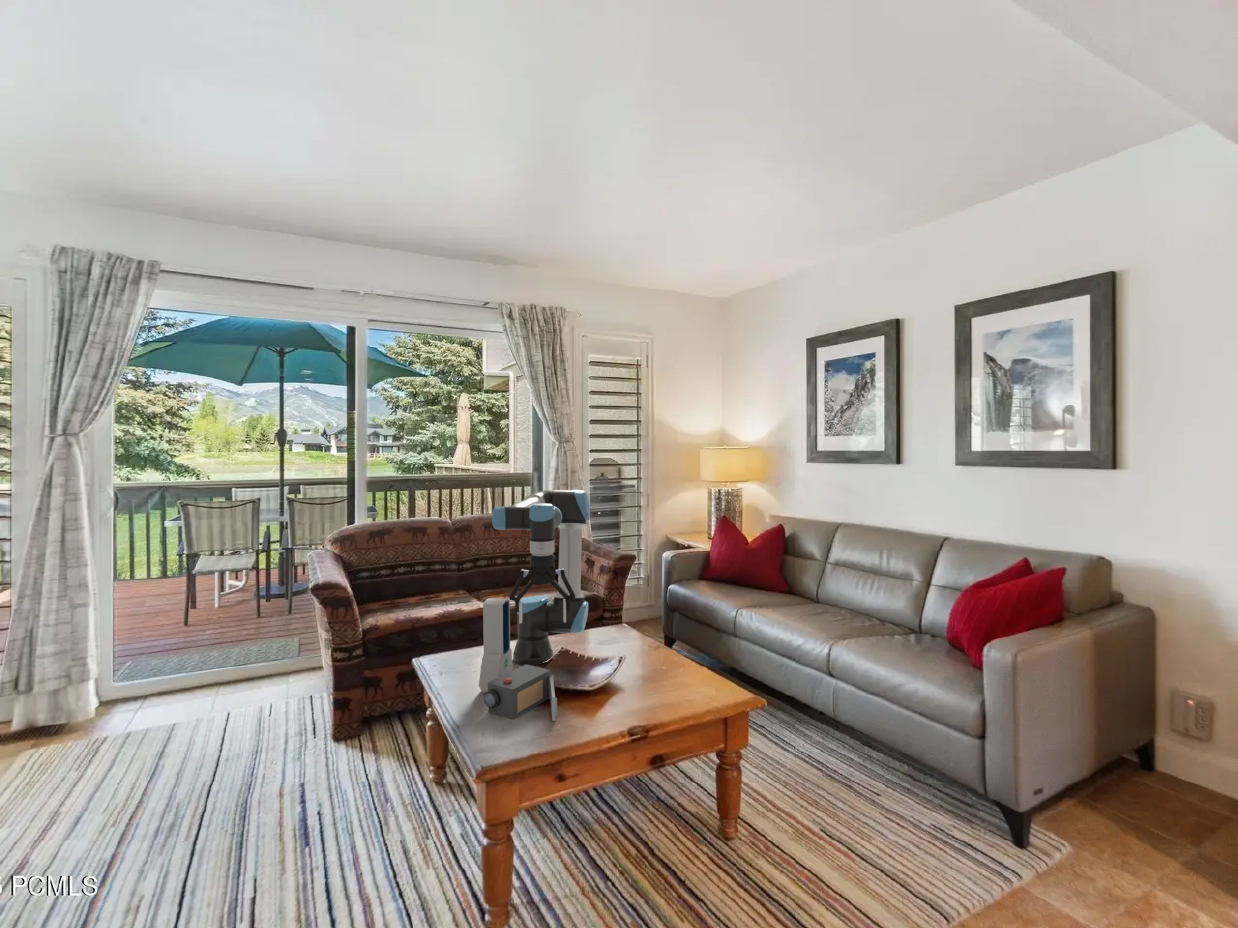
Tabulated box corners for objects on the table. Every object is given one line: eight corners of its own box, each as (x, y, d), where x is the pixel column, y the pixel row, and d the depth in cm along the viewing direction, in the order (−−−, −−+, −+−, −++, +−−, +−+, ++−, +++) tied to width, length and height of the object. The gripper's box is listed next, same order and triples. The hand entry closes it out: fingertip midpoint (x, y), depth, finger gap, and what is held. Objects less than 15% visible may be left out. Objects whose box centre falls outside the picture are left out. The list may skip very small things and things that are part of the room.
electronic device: (499, 696, 198) (498, 604, 197) (478, 694, 199) (476, 603, 198) (513, 681, 210) (512, 595, 209) (493, 679, 211) (492, 594, 210)
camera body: (526, 690, 202) (525, 661, 201) (550, 697, 196) (550, 667, 196) (483, 713, 185) (483, 681, 184) (509, 721, 180) (508, 688, 179)
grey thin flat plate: (549, 697, 196) (549, 675, 196) (554, 697, 196) (554, 674, 196) (551, 721, 179) (551, 696, 179) (557, 721, 180) (557, 696, 179)
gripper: (500, 556, 184) (500, 626, 184) (582, 555, 185) (583, 624, 186) (502, 552, 191) (503, 619, 192) (582, 550, 193) (582, 617, 194)
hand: (542, 621), depth 189 cm, fingers open, 13 cm apart
